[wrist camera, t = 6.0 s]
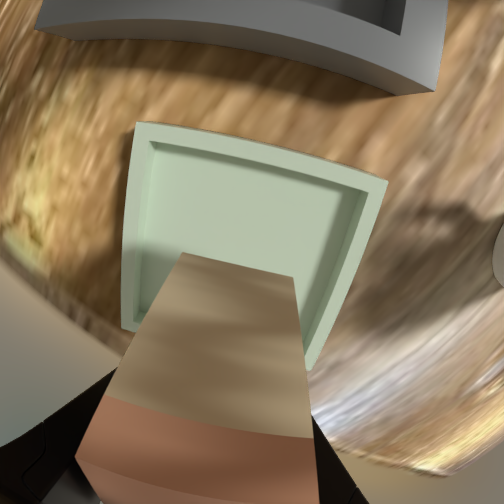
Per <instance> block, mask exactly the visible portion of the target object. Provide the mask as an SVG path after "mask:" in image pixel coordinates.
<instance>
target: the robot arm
mask: <svg viewBox="0 0 504 504" xmlns="http://www.w3.org/2000/svg"><path fill="white" fill-rule="evenodd" d="M117 368H118V367H117ZM117 368H116V369H114V370H113V371H111V372H110V373H109V374H107V375H106V376H105V377H103V378H102V379H101V380H99V381H98V382H96V383H95V384H94V385H92V386H91V387H90V388H88V389H87V390H85V391H84V392H83V393H81V394H80V395H78V396H77V397H76V398H74V399H73V400H71V401H70V402H69V403H67V404H66V405H65V406H63V407H62V408H61V409H59V410H58V411H56V412H55V413H53V414H52V415H51V416H49V417H48V418H46V419H45V420H44V421H43V422H44V423H43V422H41V423H39V424H38V425H36V426H35V427H34V428H32V429H31V430H29V431H28V432H26V433H25V434H23V435H22V436H20V437H18V438H17V439H15V440H13V441H11V442H10V443H8V444H6V445H4V446H2V447H0V504H100V501H101V500H100V498H99V497H98V495H97V493H96V492H95V490H94V489H93V487H92V486H91V484H90V482H89V481H88V479H87V477H86V476H85V474H84V472H83V471H82V469H81V467H80V466H79V464H78V462H77V460H76V458H75V455H76V453H77V451H78V448H79V446H80V444H81V442H82V439H83V437H84V435H85V433H86V431H87V429H88V426H89V424H90V422H91V420H92V418H93V416H94V414H95V412H96V410H97V408H98V406H99V403H100V401H101V399H102V397H103V395H104V393H105V391H106V389H107V387H108V385H109V383H110V381H111V379H112V377H113V375H114V373H115V372H116V370H117ZM311 418H312V427H313V437H314V447H315V458H316V469H317V480H318V493H319V504H369V503H368V501H367V500H366V498H365V497H364V496H363V494H362V493H361V491H360V489H359V488H358V487H356V486H357V485H356V484H355V482H354V481H353V479H352V478H351V476H350V475H349V473H348V471H347V470H346V468H345V467H344V465H343V464H342V462H341V461H340V459H339V458H338V456H337V454H336V453H335V451H334V450H333V448H332V447H331V445H330V443H329V442H328V440H327V439H326V437H325V436H324V434H323V432H322V431H321V429H320V428H319V426H318V424H317V423H316V421H315V420H314V418H313V416H312V415H311Z"/></svg>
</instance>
